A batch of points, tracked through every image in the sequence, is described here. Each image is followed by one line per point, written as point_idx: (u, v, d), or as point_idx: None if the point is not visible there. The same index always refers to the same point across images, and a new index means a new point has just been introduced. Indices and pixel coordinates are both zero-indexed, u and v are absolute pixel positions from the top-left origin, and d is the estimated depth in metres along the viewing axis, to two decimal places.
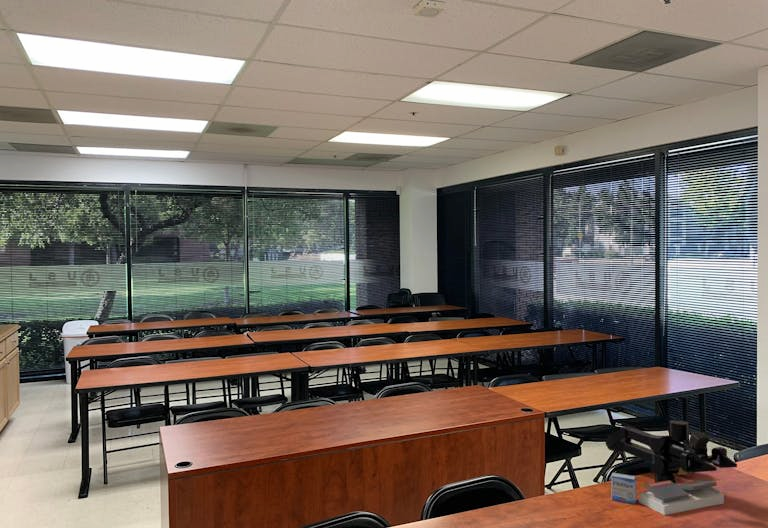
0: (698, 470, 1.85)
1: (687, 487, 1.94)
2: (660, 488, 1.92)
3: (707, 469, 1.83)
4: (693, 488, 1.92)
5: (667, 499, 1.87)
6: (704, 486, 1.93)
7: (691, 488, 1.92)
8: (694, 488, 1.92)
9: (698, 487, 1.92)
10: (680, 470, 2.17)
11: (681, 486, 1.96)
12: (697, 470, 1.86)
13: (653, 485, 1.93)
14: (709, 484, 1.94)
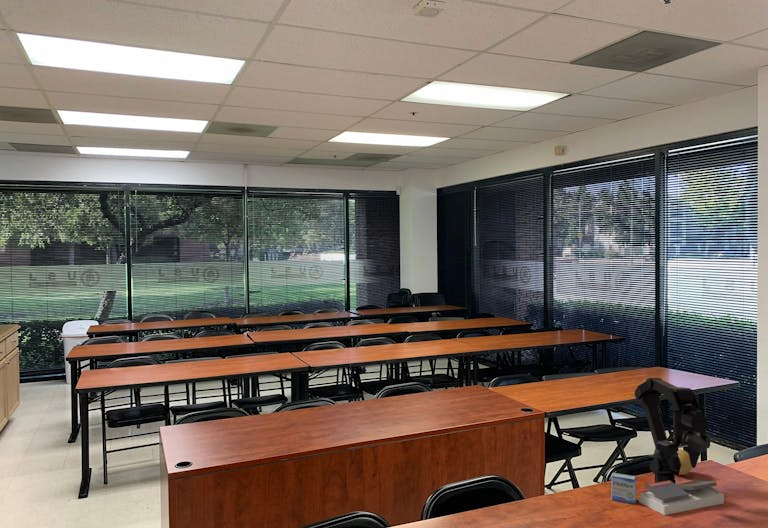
0: (664, 454, 1.94)
1: (687, 487, 1.94)
2: (660, 488, 1.92)
3: (669, 463, 1.93)
4: (693, 488, 1.92)
5: (667, 499, 1.87)
6: (704, 486, 1.93)
7: (691, 488, 1.92)
8: (694, 488, 1.92)
9: (698, 487, 1.92)
10: (680, 470, 2.17)
11: (681, 486, 1.96)
12: (664, 454, 1.94)
13: (653, 485, 1.93)
14: (709, 484, 1.94)
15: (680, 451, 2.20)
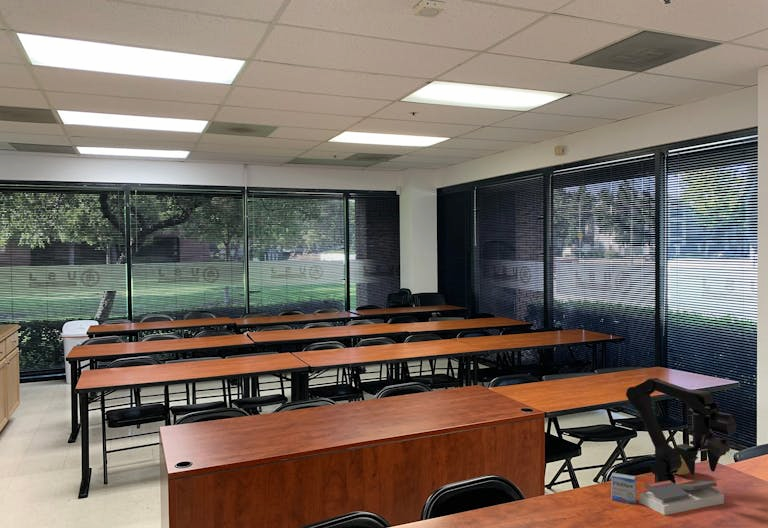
0: (683, 458, 1.94)
1: (687, 487, 1.94)
2: (660, 488, 1.92)
3: (688, 466, 1.93)
4: (693, 488, 1.92)
5: (667, 499, 1.87)
6: (704, 486, 1.93)
7: (691, 488, 1.92)
8: (694, 488, 1.92)
9: (698, 487, 1.92)
10: (680, 470, 2.17)
11: (681, 486, 1.96)
12: (683, 457, 1.94)
13: (653, 485, 1.93)
14: (709, 484, 1.94)
15: None
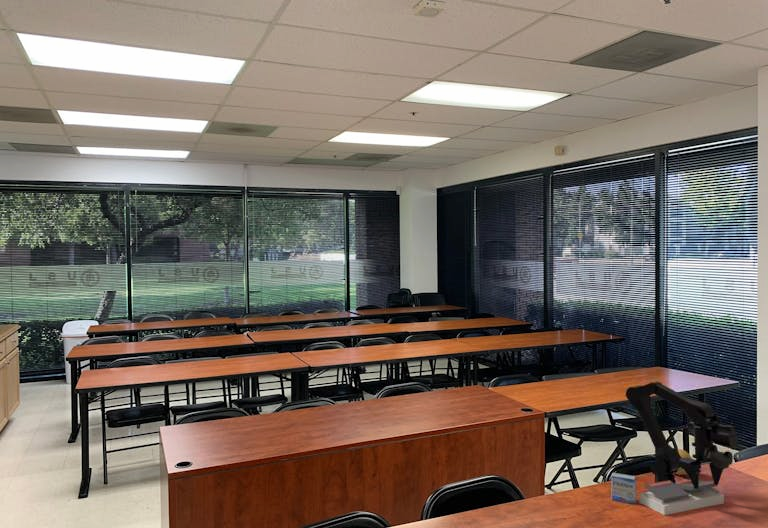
0: (687, 472, 1.93)
1: (687, 487, 1.94)
2: (660, 488, 1.92)
3: (692, 480, 1.92)
4: (693, 489, 1.92)
5: (667, 499, 1.87)
6: (704, 487, 1.93)
7: (691, 489, 1.92)
8: (694, 489, 1.92)
9: (698, 488, 1.92)
10: (680, 470, 2.17)
11: (681, 486, 1.96)
12: (686, 471, 1.93)
13: (653, 485, 1.93)
14: (709, 485, 1.94)
15: (680, 451, 2.20)
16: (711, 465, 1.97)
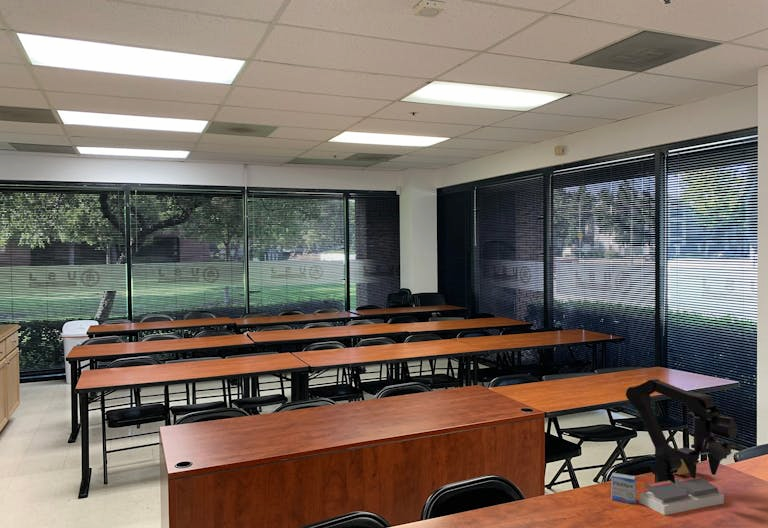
0: (684, 462, 1.94)
1: (688, 489, 1.93)
2: (660, 488, 1.92)
3: (689, 470, 1.93)
4: (694, 493, 1.91)
5: (667, 499, 1.87)
6: (705, 491, 1.93)
7: (692, 492, 1.92)
8: (695, 493, 1.91)
9: (699, 492, 1.92)
10: (680, 470, 2.17)
11: (682, 485, 1.96)
12: (684, 461, 1.94)
13: (653, 485, 1.93)
14: (710, 489, 1.94)
15: None
16: (709, 455, 1.97)
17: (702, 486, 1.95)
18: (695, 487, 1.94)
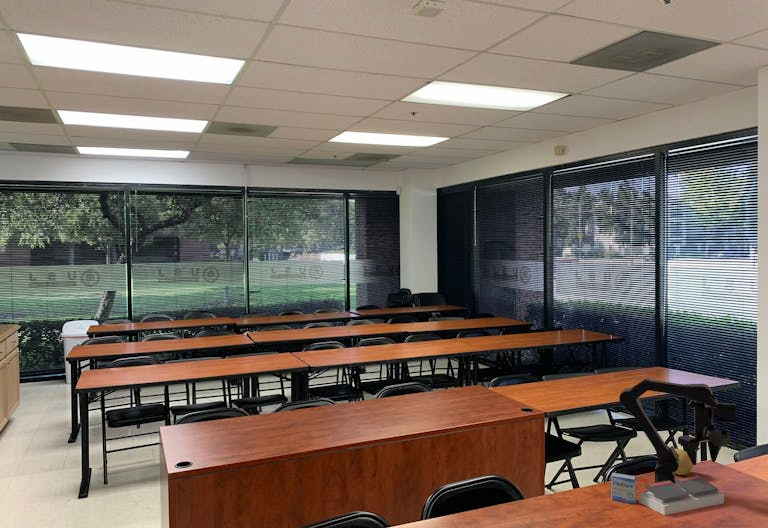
0: (685, 449, 1.99)
1: (688, 490, 1.93)
2: (660, 488, 1.92)
3: (690, 457, 1.99)
4: (694, 494, 1.91)
5: (667, 499, 1.87)
6: (705, 492, 1.93)
7: (692, 493, 1.92)
8: (695, 494, 1.91)
9: (699, 493, 1.92)
10: (680, 470, 2.17)
11: (682, 485, 1.96)
12: (685, 448, 1.99)
13: (653, 485, 1.93)
14: (710, 490, 1.94)
15: (680, 451, 2.20)
16: (709, 443, 2.03)
17: (702, 486, 1.95)
18: (695, 487, 1.94)
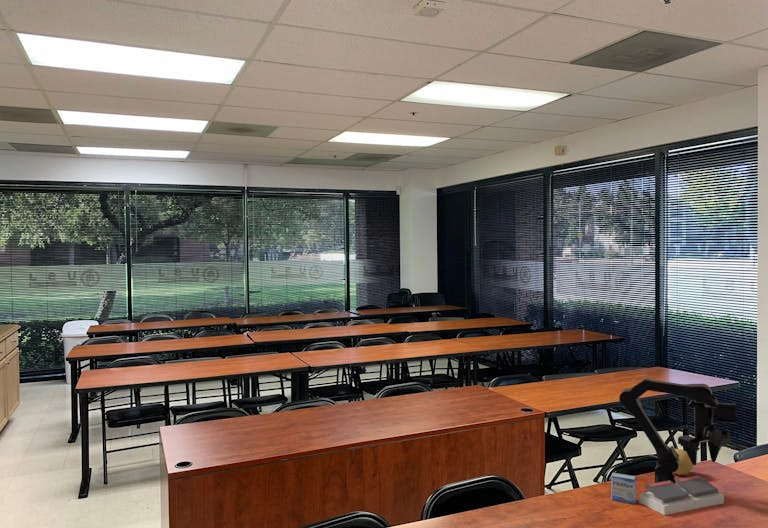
0: (685, 449, 1.99)
1: (688, 490, 1.93)
2: (660, 488, 1.92)
3: (690, 457, 1.99)
4: (694, 494, 1.91)
5: (667, 499, 1.87)
6: (705, 492, 1.93)
7: (692, 493, 1.92)
8: (695, 494, 1.91)
9: (699, 493, 1.92)
10: (680, 470, 2.17)
11: (682, 485, 1.96)
12: (685, 448, 1.99)
13: (653, 485, 1.93)
14: (710, 490, 1.94)
15: (680, 451, 2.20)
16: (709, 443, 2.03)
17: (702, 487, 1.95)
18: (695, 488, 1.94)
